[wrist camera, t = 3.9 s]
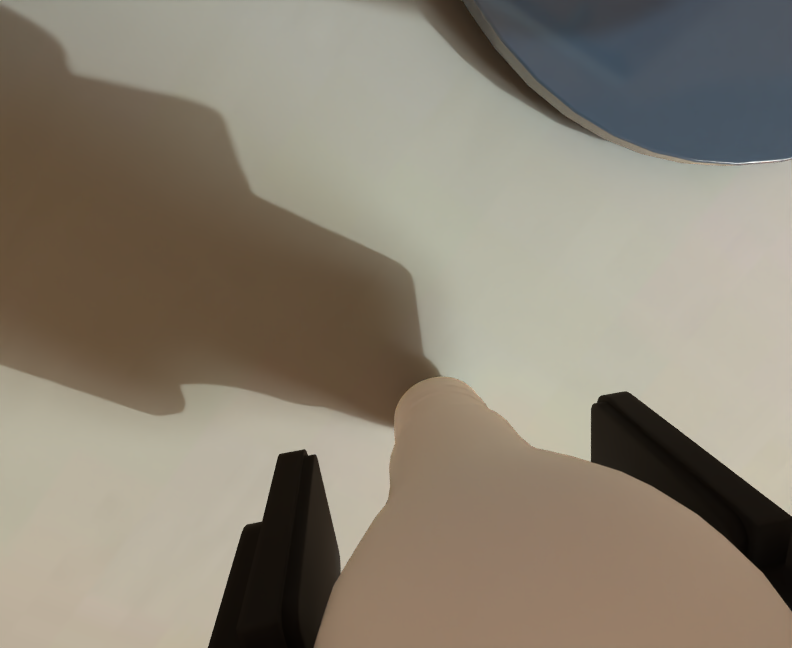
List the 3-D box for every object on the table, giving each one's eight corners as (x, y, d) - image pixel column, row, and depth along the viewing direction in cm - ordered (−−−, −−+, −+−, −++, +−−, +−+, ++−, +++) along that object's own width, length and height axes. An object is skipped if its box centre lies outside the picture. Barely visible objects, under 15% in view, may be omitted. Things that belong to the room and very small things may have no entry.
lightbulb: (288, 434, 13) (60, 1436, 3) (408, 261, 12) (845, 866, 1) (453, 519, 15) (714, 1356, 4) (574, 373, 13) (1352, 1047, 3)
